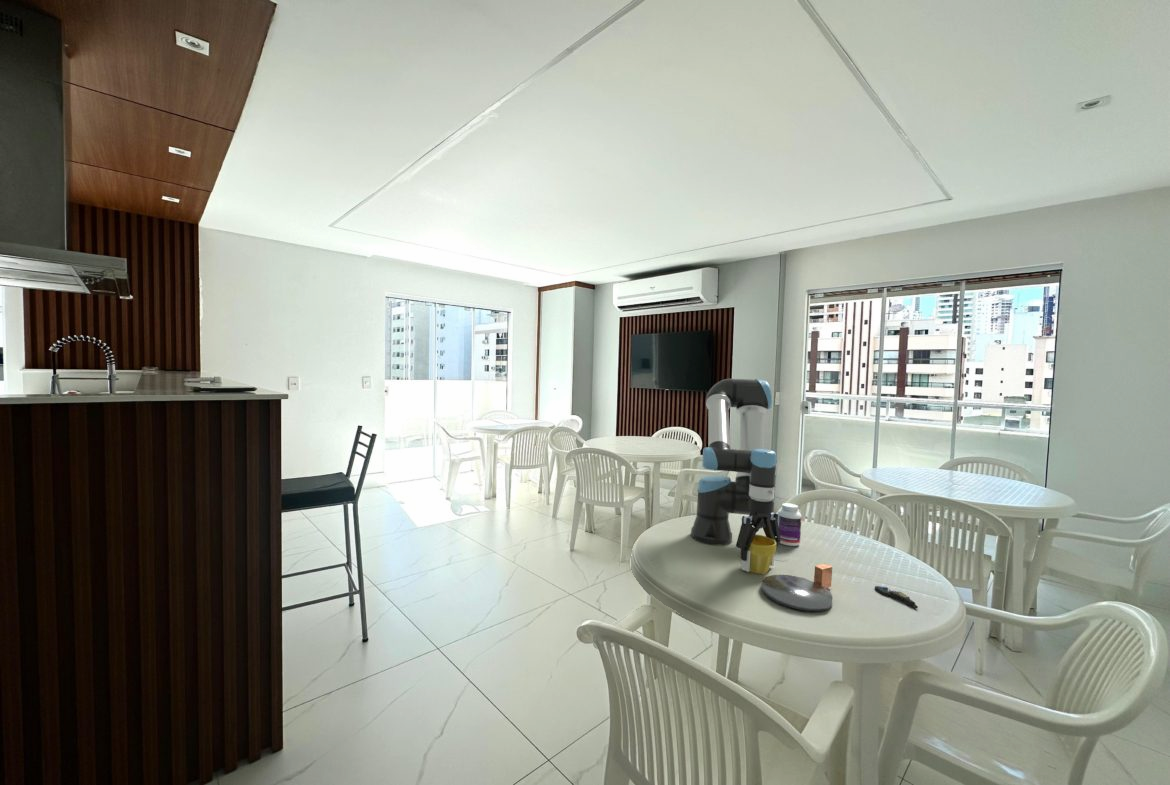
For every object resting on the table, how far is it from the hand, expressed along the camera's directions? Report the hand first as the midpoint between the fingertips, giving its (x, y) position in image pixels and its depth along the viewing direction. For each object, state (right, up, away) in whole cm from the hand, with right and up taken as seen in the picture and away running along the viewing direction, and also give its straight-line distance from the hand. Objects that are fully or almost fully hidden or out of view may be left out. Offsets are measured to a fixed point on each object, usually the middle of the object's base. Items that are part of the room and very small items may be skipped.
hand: (757, 567), depth 143 cm
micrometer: (+33, -3, -16) cm, 37 cm away
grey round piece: (+6, -1, -16) cm, 17 cm away
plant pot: (0, -1, 0) cm, 1 cm away
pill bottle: (+21, -1, +25) cm, 32 cm away
